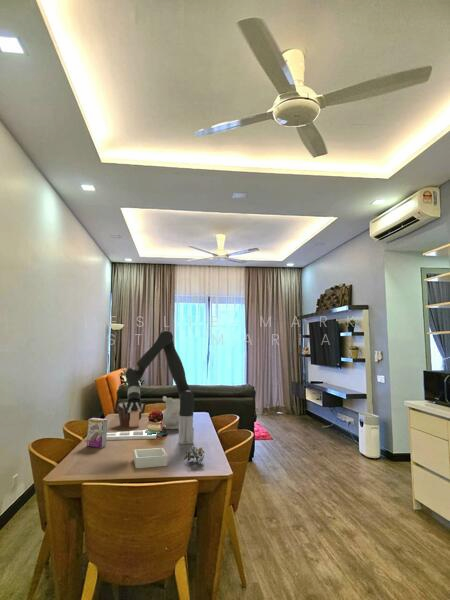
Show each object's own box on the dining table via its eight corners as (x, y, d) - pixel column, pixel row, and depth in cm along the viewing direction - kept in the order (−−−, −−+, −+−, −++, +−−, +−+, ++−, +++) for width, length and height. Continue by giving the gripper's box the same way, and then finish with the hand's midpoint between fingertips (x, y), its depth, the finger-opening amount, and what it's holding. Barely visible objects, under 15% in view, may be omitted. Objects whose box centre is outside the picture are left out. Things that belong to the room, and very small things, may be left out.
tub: (138, 425, 215) (138, 411, 216) (138, 426, 211) (139, 412, 212) (129, 425, 214) (129, 411, 215) (129, 427, 209) (130, 412, 210)
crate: (162, 457, 206) (163, 447, 207) (167, 465, 191) (167, 455, 192) (133, 459, 201) (133, 449, 202) (135, 468, 186) (136, 458, 187)
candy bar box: (86, 446, 226) (87, 419, 228) (91, 444, 230) (93, 417, 232) (101, 448, 222) (102, 420, 224) (106, 446, 227) (107, 419, 229)
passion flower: (200, 475, 193) (203, 460, 187) (180, 471, 193) (182, 455, 187) (204, 457, 203) (207, 442, 197) (185, 453, 203) (187, 438, 197)
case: (138, 428, 279) (139, 403, 281) (112, 427, 279) (113, 403, 282) (144, 423, 296) (145, 401, 299) (119, 423, 297) (120, 400, 299)
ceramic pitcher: (175, 425, 297) (174, 393, 301) (193, 426, 286) (192, 393, 290) (155, 430, 279) (155, 396, 284) (174, 431, 268) (173, 396, 273)
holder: (86, 441, 239) (86, 437, 240) (90, 435, 257) (91, 431, 257) (156, 439, 248) (156, 435, 248) (155, 433, 265) (156, 429, 266)
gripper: (122, 391, 220) (122, 416, 207) (146, 391, 224) (147, 414, 211) (121, 399, 224) (121, 424, 211) (145, 398, 228) (146, 422, 215)
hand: (134, 419), depth 211 cm, fingers closed on tub, 5 cm apart
